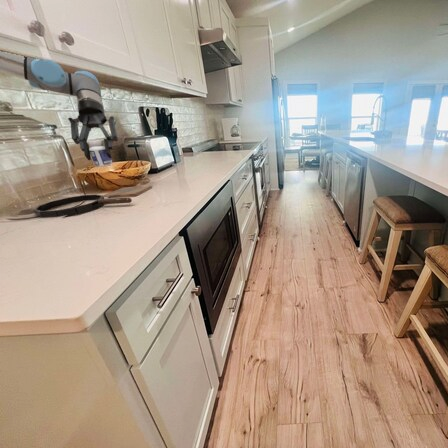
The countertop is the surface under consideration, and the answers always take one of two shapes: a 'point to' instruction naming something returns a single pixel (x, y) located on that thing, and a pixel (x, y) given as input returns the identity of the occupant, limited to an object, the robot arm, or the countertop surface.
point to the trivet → (128, 191)
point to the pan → (79, 209)
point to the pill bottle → (99, 154)
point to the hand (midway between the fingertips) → (98, 156)
